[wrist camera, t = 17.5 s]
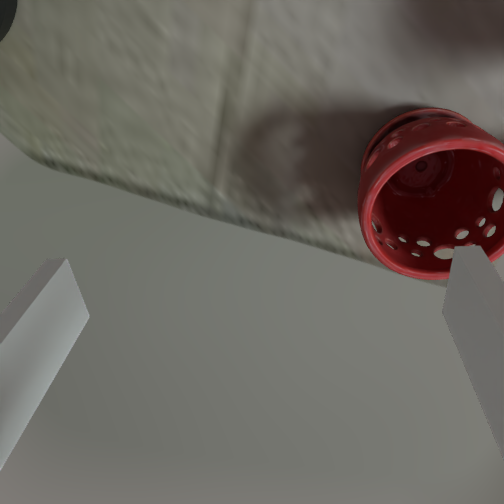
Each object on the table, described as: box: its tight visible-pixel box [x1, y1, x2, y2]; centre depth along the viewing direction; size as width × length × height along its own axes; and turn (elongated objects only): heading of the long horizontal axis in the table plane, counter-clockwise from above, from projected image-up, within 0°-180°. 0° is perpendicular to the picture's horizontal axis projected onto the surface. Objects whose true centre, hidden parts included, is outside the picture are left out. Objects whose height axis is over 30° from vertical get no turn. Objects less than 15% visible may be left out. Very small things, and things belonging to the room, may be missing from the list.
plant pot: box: [358, 108, 504, 280], centre depth 40 cm, size 13×13×12 cm
